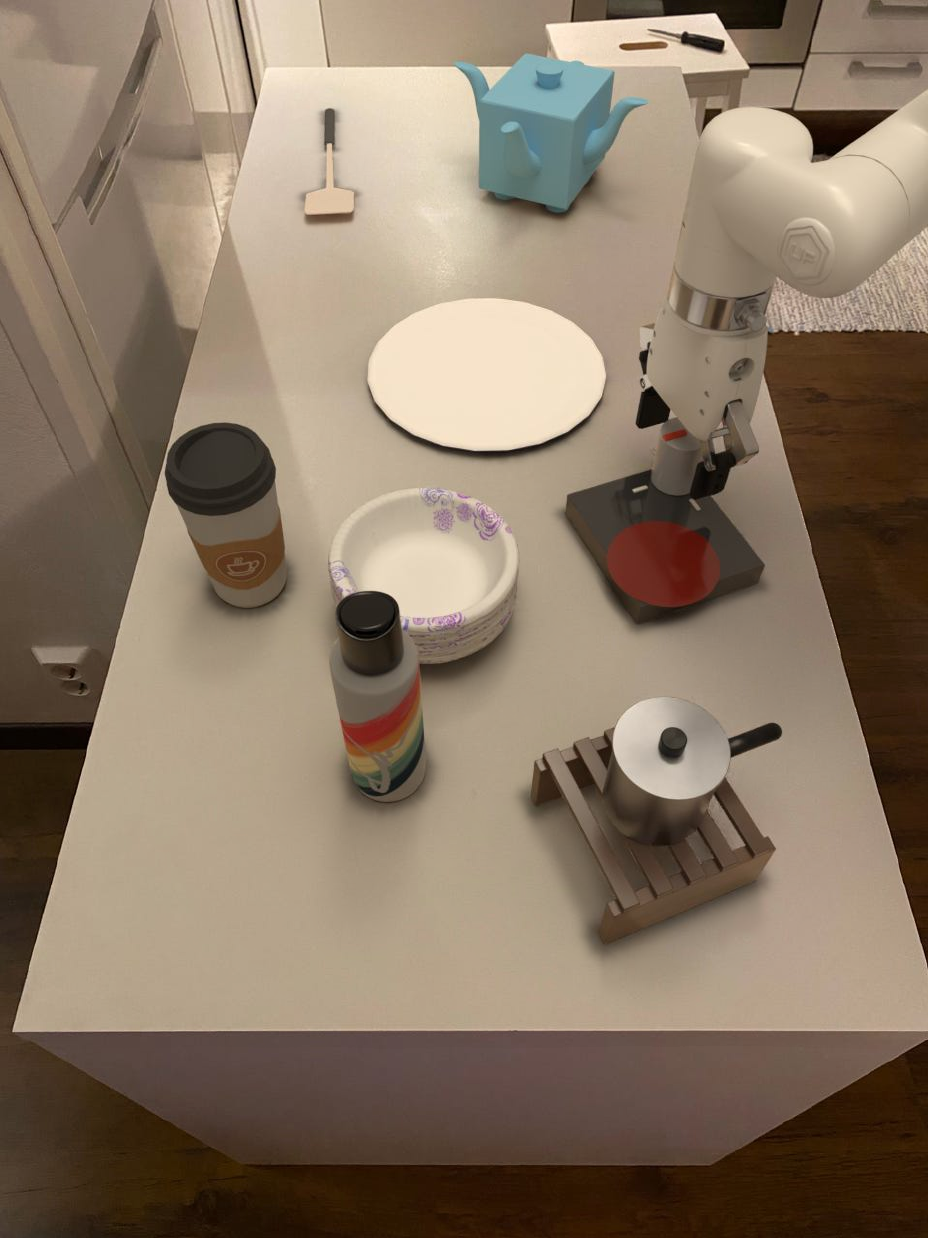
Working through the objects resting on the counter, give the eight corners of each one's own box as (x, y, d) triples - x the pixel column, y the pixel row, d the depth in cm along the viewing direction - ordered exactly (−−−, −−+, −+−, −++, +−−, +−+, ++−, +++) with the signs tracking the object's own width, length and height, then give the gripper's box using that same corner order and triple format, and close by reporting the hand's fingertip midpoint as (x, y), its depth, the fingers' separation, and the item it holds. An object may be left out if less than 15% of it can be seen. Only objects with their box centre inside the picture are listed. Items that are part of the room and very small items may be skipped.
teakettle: (576, 142, 130) (586, 23, 119) (638, 210, 120) (657, 87, 108) (447, 167, 126) (445, 47, 115) (500, 239, 116) (503, 115, 104)
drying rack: (671, 742, 73) (685, 700, 68) (756, 880, 66) (779, 845, 62) (530, 795, 70) (534, 756, 66) (604, 945, 64) (615, 913, 59)
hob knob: (683, 457, 89) (695, 408, 84) (707, 487, 86) (721, 439, 82) (641, 469, 88) (651, 421, 83) (665, 501, 85) (676, 453, 81)
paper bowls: (526, 557, 85) (531, 494, 78) (501, 699, 76) (504, 641, 69) (360, 536, 86) (352, 472, 80) (317, 673, 77) (303, 613, 71)
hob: (686, 456, 92) (691, 436, 90) (780, 575, 83) (789, 555, 81) (554, 496, 89) (556, 476, 87) (637, 625, 80) (641, 605, 78)
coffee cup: (205, 627, 80) (159, 502, 68) (201, 554, 85) (158, 425, 73) (304, 610, 81) (276, 484, 69) (294, 539, 86) (266, 410, 74)
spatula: (305, 225, 118) (304, 213, 117) (308, 113, 135) (307, 102, 134) (354, 222, 118) (353, 211, 117) (351, 111, 136) (350, 100, 135)
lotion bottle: (349, 804, 70) (314, 648, 54) (353, 737, 73) (322, 571, 58) (426, 803, 70) (414, 647, 54) (427, 736, 74) (416, 571, 58)
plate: (422, 286, 110) (421, 277, 109) (631, 334, 104) (633, 324, 103) (327, 422, 96) (325, 412, 95) (564, 485, 90) (565, 475, 89)
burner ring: (683, 509, 85) (683, 508, 85) (741, 586, 79) (741, 586, 79) (587, 540, 83) (587, 539, 82) (640, 621, 77) (640, 620, 77)
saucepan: (581, 773, 65) (593, 709, 58) (739, 713, 68) (768, 646, 61) (631, 866, 61) (650, 809, 54) (796, 798, 64) (834, 736, 57)
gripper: (829, 345, 67) (766, 511, 81) (703, 221, 77) (666, 389, 91) (738, 370, 66) (690, 536, 79) (621, 241, 75) (596, 408, 89)
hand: (677, 457), depth 85 cm, fingers open, 9 cm apart
